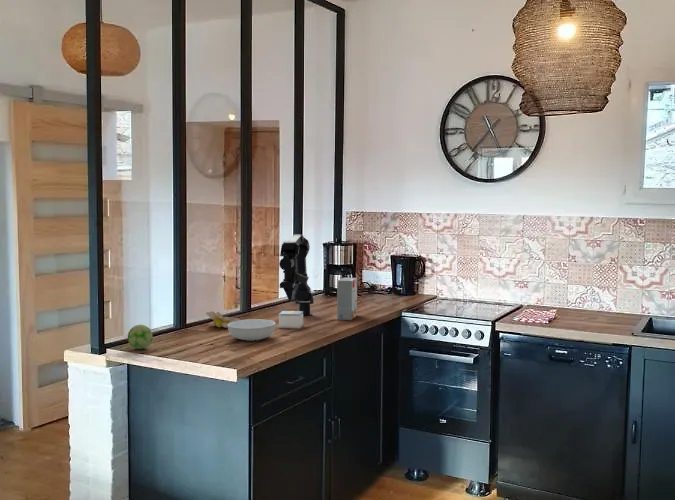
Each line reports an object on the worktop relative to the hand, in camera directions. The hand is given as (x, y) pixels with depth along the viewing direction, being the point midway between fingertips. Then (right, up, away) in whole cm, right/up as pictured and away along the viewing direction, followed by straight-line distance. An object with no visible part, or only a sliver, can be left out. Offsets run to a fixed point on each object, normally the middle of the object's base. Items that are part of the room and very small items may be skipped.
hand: (290, 301), depth 323 cm
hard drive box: (+27, -11, +27) cm, 40 cm away
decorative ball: (-58, -16, -45) cm, 75 cm away
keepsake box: (0, -12, +3) cm, 13 cm away
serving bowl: (-15, -15, -25) cm, 33 cm away
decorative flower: (-32, -13, +2) cm, 35 cm away
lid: (0, -6, +2) cm, 7 cm away
